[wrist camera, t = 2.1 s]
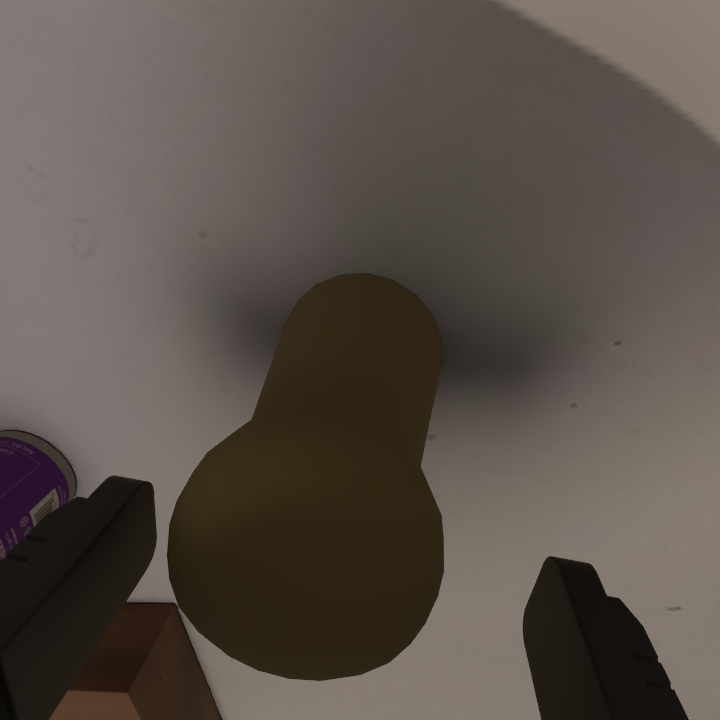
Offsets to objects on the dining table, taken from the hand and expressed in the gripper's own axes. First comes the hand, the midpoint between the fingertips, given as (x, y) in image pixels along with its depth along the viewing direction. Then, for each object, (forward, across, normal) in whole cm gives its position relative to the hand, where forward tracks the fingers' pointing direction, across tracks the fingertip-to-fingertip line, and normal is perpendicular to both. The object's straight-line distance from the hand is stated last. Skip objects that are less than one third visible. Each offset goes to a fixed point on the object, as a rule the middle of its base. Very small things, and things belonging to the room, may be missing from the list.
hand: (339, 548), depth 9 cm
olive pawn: (+9, +1, 0) cm, 9 cm away
